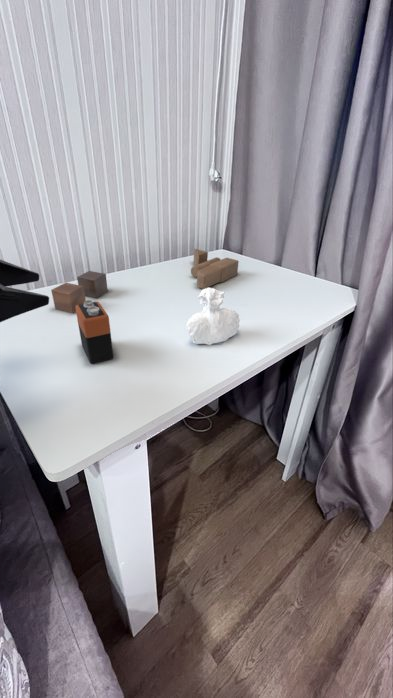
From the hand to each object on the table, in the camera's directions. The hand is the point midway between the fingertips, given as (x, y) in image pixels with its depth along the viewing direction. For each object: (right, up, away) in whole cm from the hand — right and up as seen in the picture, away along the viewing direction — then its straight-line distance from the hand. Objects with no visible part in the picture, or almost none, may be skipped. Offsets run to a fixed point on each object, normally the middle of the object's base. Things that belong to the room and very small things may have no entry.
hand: (43, 288), depth 47 cm
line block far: (-5, +6, +38) cm, 39 cm away
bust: (+25, -6, +23) cm, 34 cm away
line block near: (-8, +1, +31) cm, 32 cm away
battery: (+3, -10, +16) cm, 19 cm away
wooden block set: (+23, +13, +53) cm, 59 cm away
